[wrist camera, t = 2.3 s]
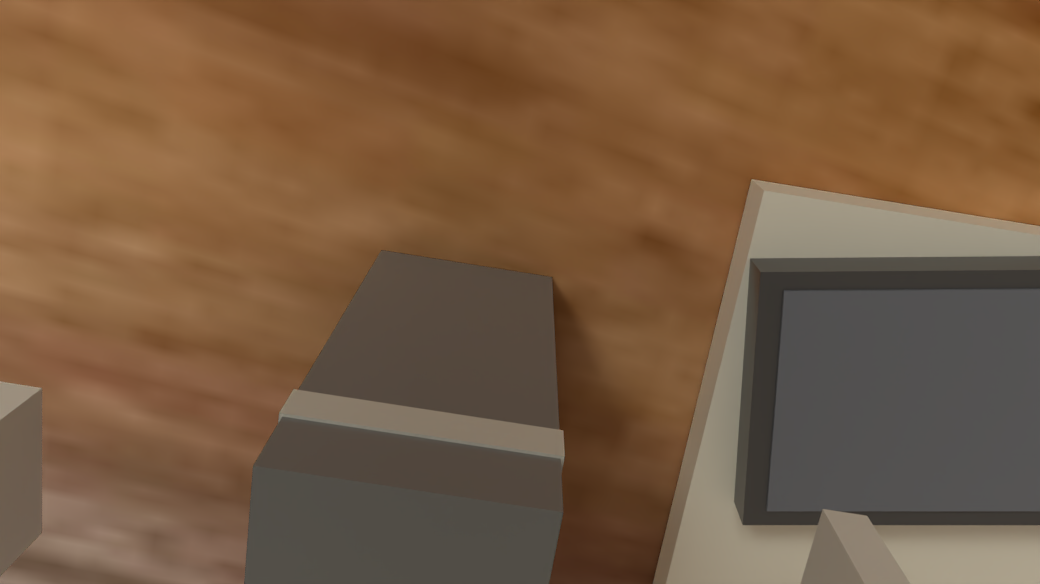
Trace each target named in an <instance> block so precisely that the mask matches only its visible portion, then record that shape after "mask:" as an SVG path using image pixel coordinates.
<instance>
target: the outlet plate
mask: <svg viewBox="0 0 1040 584" xmlns="http://www.w3.org/2000/svg"><path fill="white" fill-rule="evenodd" d="M982 256H1040V226H1036V225H1030V224H1024V223H1018V222H1012V221H1005V220H999V219H993V218H987V217H981V216H975V215H969V214H962V213H956V212H950V211H944V210H938V209H932V208H926V207H919V206H913V205H907V204H901V203H895V202H889V201H883V200H876V199H870V198H864V197H858V196H852V195H846V194H840V193H834V192H827V191H821V190H815V189H809V188H803V187H797V186H791V185H784V184H778V183H772V182H766V181H760V180H754V179H751V183H750V187H749V191H748V195H747V199H746V204H745V208H744V212H743V216H742V220H741V224H740V228H739V232H738V236H737V240H736V244H735V249H734V253H733V257H732V261H731V265H730V269H729V273H728V277H727V281H726V285H725V289H724V294H723V298H722V302H721V306H720V310H719V314H718V318H717V322H716V326H715V330H714V334H713V339H712V343H711V347H710V351H709V355H708V359H707V363H706V367H705V371H704V375H703V379H702V384H701V388H700V392H699V396H698V400H697V404H696V408H695V412H694V416H693V420H692V425H691V429H690V433H689V437H688V441H687V445H686V449H685V453H684V457H683V461H682V465H681V470H680V474H679V478H678V482H677V486H676V490H675V494H674V498H673V502H672V506H671V510H670V515H669V519H668V523H667V527H666V531H665V535H664V539H663V543H662V547H661V551H660V555H659V560H658V564H657V568H656V572H655V576H654V580H653V584H801V580H802V577H803V573H804V570H805V567H806V563H807V560H808V557H809V553H810V550H811V546H812V543H813V540H814V536H815V533H816V530H817V526H818V525H742V522H741V519H740V517H739V514H738V511H737V509H736V506H735V503H734V493H735V478H736V463H737V448H738V433H739V418H740V403H741V388H742V373H743V358H744V343H745V328H746V313H747V298H748V283H749V268H750V258H859V257H982ZM873 526H874V527H875V529H876V530H877V532H878V534H879V535H880V537H881V538H882V540H883V541H884V543H885V545H886V546H887V548H888V549H889V551H890V552H891V554H892V556H893V557H894V559H895V560H896V562H897V563H898V565H899V567H900V568H901V570H902V571H903V573H904V574H905V576H906V578H907V579H908V581H909V582H910V584H1040V525H873Z"/></svg>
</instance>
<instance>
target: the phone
mask: <svg viewBox="0 0 1040 584" xmlns="http://www.w3.org/2000/svg"><path fill="white" fill-rule="evenodd" d="M734 503H735V506H736V509H737V511H738V514H739V517H740V519H741V522H742V525H818V523H819V519H820V516H821V513H822V509H827V510H833V511H839V512H846V513H852V514H859V515H865V516H868V518H869V520H870V521H871V523H872V524H873V525H1040V256H982V257H859V258H750V268H749V283H748V298H747V313H746V328H745V343H744V358H743V373H742V388H741V403H740V418H739V433H738V448H737V463H736V478H735V493H734Z"/></svg>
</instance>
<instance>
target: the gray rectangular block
mask: <svg viewBox="0 0 1040 584" xmlns="http://www.w3.org/2000/svg"><path fill="white" fill-rule="evenodd" d="M564 458H565V450H564V432H563V430H559V411H558V390H557V369H556V348H555V327H554V306H553V285H552V277H548V276H542V275H535V274H529V273H523V272H516V271H510V270H504V269H497V268H491V267H485V266H478V265H472V264H466V263H459V262H453V261H447V260H441V259H434V258H428V257H422V256H415V255H409V254H403V253H396V252H390V251H384V250H381V252H380V253H379V255H378V257H377V258H376V260H375V262H374V264H373V265H372V267H371V269H370V270H369V272H368V274H367V275H366V277H365V279H364V280H363V282H362V284H361V285H360V287H359V289H358V290H357V292H356V294H355V295H354V297H353V299H352V300H351V302H350V304H349V306H348V307H347V309H346V311H345V312H344V314H343V316H342V317H341V319H340V321H339V322H338V324H337V326H336V327H335V329H334V331H333V332H332V334H331V336H330V337H329V339H328V341H327V342H326V344H325V346H324V347H323V349H322V351H321V353H320V354H319V356H318V358H317V359H316V361H315V363H314V364H313V366H312V368H311V369H310V371H309V373H308V374H307V376H306V378H305V379H304V381H303V383H302V384H301V386H300V388H299V389H298V390H296V389H293V391H292V393H291V394H290V396H289V397H288V399H287V401H286V402H285V404H284V406H283V407H282V409H281V411H280V412H279V421H278V425H277V426H276V428H275V430H274V431H273V433H272V435H271V436H270V438H269V440H268V442H267V443H266V445H265V447H264V448H263V450H262V452H261V453H260V455H259V457H258V458H257V460H256V462H255V463H254V465H253V474H252V487H251V500H250V514H249V527H248V541H247V554H246V568H245V581H244V584H549V581H550V576H551V571H552V566H553V561H554V556H555V551H556V546H557V541H558V536H559V531H560V526H561V522H562V517H563V494H562V468H563V463H564Z"/></svg>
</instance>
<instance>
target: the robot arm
mask: <svg viewBox="0 0 1040 584" xmlns="http://www.w3.org/2000/svg"><path fill="white" fill-rule="evenodd" d="M41 533H42V388H38V387H32V386H25V385H19V384H12V383H6V382H0V576H1V575H2V574H3V573H4V572H5V571H6V570H7V569H8V568H9V567H10V566H11V565H12V564H13V562H14V561H15V560H16V559H17V558H18V557H19V556H20V555H21V554H22V553H23V552H24V551H25V550H26V549H27V548H28V547H29V546H30V545H31V543H32V542H33V541H34V540H35V539H36V538H37V537H38V536H39V535H40V534H41ZM801 584H910V582H909V581H908V579H907V578H906V576H905V574H904V573H903V571H902V570H901V568H900V567H899V565H898V563H897V562H896V560H895V559H894V557H893V556H892V554H891V552H890V551H889V549H888V548H887V546H886V545H885V543H884V541H883V540H882V538H881V537H880V535H879V534H878V532H877V530H876V529H875V527H874V526H873V524H872V523H871V521H870V520H869V518H868V516H865V515H859V514H852V513H846V512H839V511H833V510H827V509H822V513H821V516H820V519H819V523H818V526H817V530H816V533H815V536H814V540H813V543H812V546H811V550H810V553H809V557H808V560H807V563H806V567H805V570H804V573H803V577H802V580H801Z"/></svg>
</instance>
